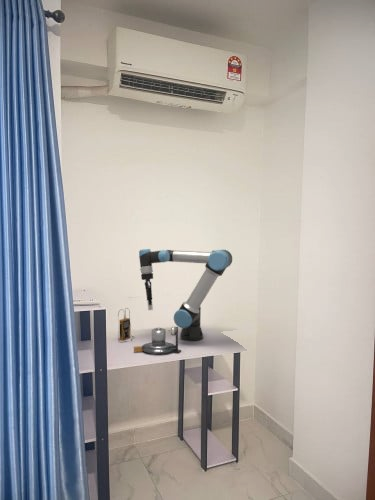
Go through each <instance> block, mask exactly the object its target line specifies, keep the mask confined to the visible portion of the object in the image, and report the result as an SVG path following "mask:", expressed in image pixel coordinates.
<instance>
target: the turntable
mask: <svg viewBox="0 0 375 500" xmlns="http://www.w3.org/2000/svg"><path fill="white" fill-rule="evenodd" d="M151 343H152V341H151V342H147V343H144V344H142V345H137V346H133V352H134V353H140V352H144V353H147V354H155V355H159V354H161V355H163V354H169V353H172V351H174V350H175V349H176V344H174V343H171V342H167V341H165V343H167V344H168V348H166V349H162V350H154V349H150V348H149V344H151Z"/></svg>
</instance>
